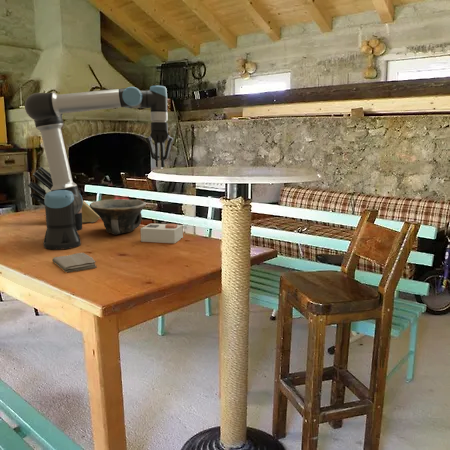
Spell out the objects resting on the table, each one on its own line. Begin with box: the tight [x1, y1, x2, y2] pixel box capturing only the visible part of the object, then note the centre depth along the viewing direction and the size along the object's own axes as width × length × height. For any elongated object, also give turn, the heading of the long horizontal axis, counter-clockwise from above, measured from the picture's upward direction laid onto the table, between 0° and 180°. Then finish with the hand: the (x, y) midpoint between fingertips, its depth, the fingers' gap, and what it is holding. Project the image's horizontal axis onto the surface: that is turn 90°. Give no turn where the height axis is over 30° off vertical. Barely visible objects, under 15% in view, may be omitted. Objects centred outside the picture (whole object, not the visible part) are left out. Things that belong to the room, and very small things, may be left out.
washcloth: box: [51, 252, 97, 273], centre depth 165 cm, size 12×18×3 cm, turn 37°
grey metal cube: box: [146, 223, 159, 228], centre depth 206 cm, size 4×4×4 cm
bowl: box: [89, 198, 147, 235], centre depth 220 cm, size 27×26×15 cm
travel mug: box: [75, 189, 83, 232], centre depth 226 cm, size 8×8×20 cm
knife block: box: [27, 166, 101, 224], centre depth 242 cm, size 11×35×31 cm, turn 107°
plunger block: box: [140, 223, 184, 244], centre depth 206 cm, size 12×16×6 cm
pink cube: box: [165, 223, 178, 229], centre depth 204 cm, size 4×4×4 cm
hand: (160, 174), depth 206 cm, fingers closed
